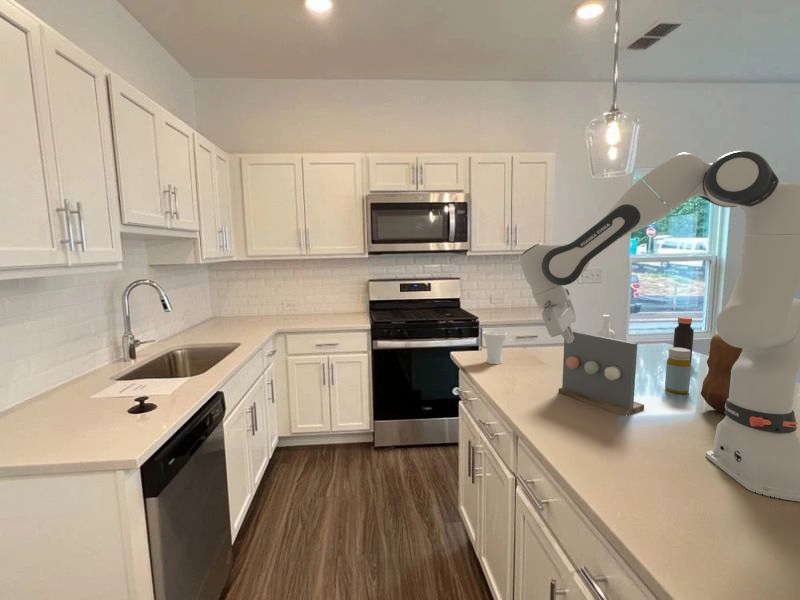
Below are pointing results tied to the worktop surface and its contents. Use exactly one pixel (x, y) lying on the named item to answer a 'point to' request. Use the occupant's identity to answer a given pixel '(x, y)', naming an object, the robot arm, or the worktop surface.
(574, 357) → the terracotta button
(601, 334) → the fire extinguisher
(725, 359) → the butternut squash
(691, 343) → the vinegar
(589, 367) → the sage button
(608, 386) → the button panel
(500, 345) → the cup
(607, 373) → the cream button
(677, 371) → the bottle
